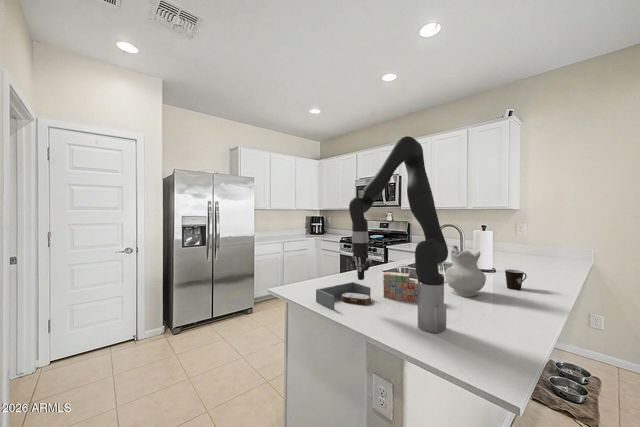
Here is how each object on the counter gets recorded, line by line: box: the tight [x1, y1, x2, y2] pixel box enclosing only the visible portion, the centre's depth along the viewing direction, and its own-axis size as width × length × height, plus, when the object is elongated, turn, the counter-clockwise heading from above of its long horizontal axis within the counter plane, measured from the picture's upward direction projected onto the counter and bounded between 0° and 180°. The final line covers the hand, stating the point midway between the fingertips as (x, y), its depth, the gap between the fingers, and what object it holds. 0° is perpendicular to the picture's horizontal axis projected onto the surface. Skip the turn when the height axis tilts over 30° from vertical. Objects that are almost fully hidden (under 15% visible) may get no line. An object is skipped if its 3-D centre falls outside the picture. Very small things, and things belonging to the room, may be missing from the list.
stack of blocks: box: [382, 271, 418, 303], centre depth 136 cm, size 21×6×12 cm, turn 65°
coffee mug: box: [504, 268, 527, 291], centre depth 154 cm, size 12×9×10 cm
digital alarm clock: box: [340, 293, 372, 306], centre depth 133 cm, size 15×3×8 cm
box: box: [315, 281, 371, 311], centre depth 133 cm, size 13×24×6 cm, turn 125°
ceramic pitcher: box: [444, 245, 487, 298], centre depth 146 cm, size 22×20×25 cm
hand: (360, 279), depth 122 cm, fingers closed
